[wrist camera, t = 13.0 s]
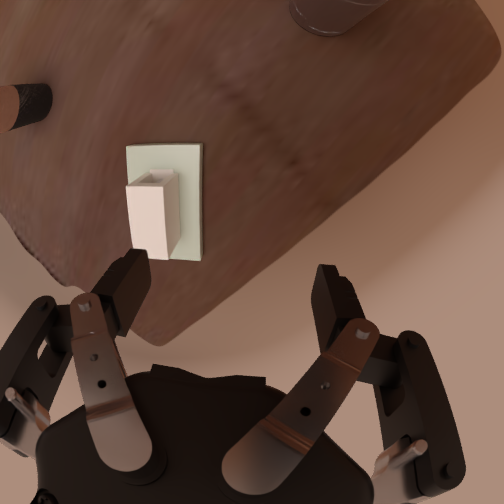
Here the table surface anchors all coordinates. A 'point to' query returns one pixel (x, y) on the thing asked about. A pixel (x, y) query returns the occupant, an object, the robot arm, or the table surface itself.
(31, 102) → the travel mug
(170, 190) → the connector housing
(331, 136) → the table surface
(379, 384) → the robot arm
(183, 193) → the board
